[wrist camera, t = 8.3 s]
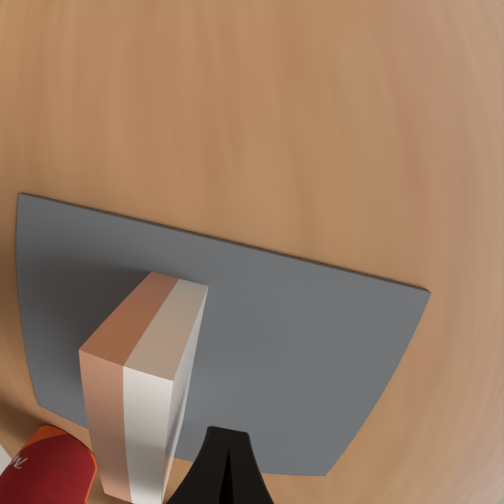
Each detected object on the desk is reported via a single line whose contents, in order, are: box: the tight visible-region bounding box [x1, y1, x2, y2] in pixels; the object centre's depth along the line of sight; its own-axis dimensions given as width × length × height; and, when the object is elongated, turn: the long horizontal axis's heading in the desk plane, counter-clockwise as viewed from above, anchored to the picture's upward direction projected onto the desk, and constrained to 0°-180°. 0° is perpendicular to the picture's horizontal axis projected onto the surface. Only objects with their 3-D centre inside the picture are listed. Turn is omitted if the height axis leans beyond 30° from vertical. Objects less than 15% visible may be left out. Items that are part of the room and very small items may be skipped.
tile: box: [79, 272, 208, 504], centre depth 10 cm, size 8×2×6 cm, turn 166°
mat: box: [16, 193, 431, 476], centre depth 13 cm, size 14×20×1 cm
